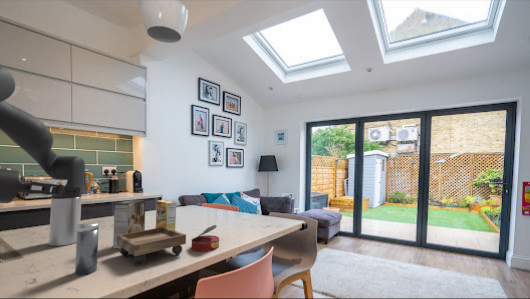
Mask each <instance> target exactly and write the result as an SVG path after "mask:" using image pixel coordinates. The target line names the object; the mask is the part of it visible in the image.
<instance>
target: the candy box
mask: <svg viewBox="0 0 530 299" xmlns="http://www.w3.org/2000/svg"><path fill="white" fill-rule="evenodd" d="M155 205H156V209H155V228H160V227H166V228H169V229H172V230H175V231H176V223H177V222H176V220H177V219H176V218H177V216H176V215H177V202H176V201H172V200H166V199H161V200H156V204H155Z"/></svg>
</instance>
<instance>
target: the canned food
mask: <svg viewBox="0 0 530 299" xmlns="http://www.w3.org/2000/svg"><path fill="white" fill-rule="evenodd" d="M215 229H217V225H216V224H214V225H211V226H208V227H207V228H206V229H205V230H203V232H201V233H200V234H199V235H197V236H196V237H193V238H192V239H191V250H192V251H195V252H209V251H210V252H211V251H214V250H217V249H218V248H219V247H220V237H218V236H216V235H207V233H210V232H211V231H213V230H215Z"/></svg>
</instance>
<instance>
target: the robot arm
mask: <svg viewBox="0 0 530 299" xmlns="http://www.w3.org/2000/svg"><path fill="white" fill-rule="evenodd" d="M14 78H15V77H14V76H13V74H12V73H11V72H10V71H9V70H8V69H6V68H4V67H2V66H0V131H2V132H3V133H4V134H5V135H6V136H7V138H8V137H9V139H11V141H12V142H13V143H15V144H16V145H17V146H18V147H19V148H20V149H22V150H23V151H24V152H26V154H28V156H30V157H31V158H32V159H33V160H35V162H36V163H37V164H38V165H39V167H40V168H41V169H42V170H43V171H44V172H45V173H46V174H47V176H48V177H50V178H51V179H53V180H58V181H62V180H63V181H66V184H65V185H63V184H62V183H61V184H60V183H59V184H55V183H53V182H49V181H39V180H35V179H30V180H29V179H26V180H25V182H23V181H21V180H22V174H21V172H20V171H19V170H15V169H14V170H13V169H6V168H5V169H4V168H0V204H10V203H12V202H13V201H14V200H15V198H16V197H17V196H16V195H17V194H21V197H25V198H26V197H27V198H35V197H45V198H46V197H50V196H51V199H50V200H51V201H50V219H49V234H48V245H49V246H52V247H58V246H59V247H60V246H67V245H71V244H75V243H76V242H77V225H79V224H81V217H82V216H81V213H82V194H83V190H84V182H85V175H86V174H85V173H86V163H85V160H84V158H83V157H81V156H78V155H77V156H73V155H72V156H71V155H70V156H69V155H67V156H65V155H62V156H61V155H59V154H57V153H56V152H55V151H54V150H53V149H52V148H53V145H54V136H53V134H52V132H51V131H50V129H49V128H48V126H46V125H45V124H44V123H43V121H41V120H40V119H39V118H38V117H37V116H35V115H33V114H31V113H29V112H27V111H26V110H23V109H21V108H19V107H17V106H16V105H13V104H11V103H9V102H8V101H6V100H8V99H9V98H11V97H12V96H13V94H14V93H15V90H16V81H15V79H14Z"/></svg>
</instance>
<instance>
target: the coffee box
mask: <svg viewBox="0 0 530 299" xmlns="http://www.w3.org/2000/svg"><path fill="white" fill-rule="evenodd" d="M113 207H114V208H113V210H114V211H113V238H112V241H113V243H112V248H113V249H120V248H121V247H120V246H118V245H117V235H122V234H127V233H133V232H138V231H144V230H146V229H145V225H146V223H145V222H146V200H145V199H144V200H143V199H142V200H140V199H137V200H136V199H130V200H126V201H125V200H124V201H120V202H115V203H114V206H113Z"/></svg>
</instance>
